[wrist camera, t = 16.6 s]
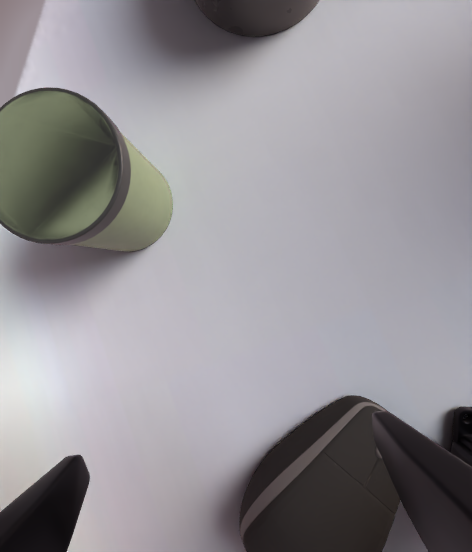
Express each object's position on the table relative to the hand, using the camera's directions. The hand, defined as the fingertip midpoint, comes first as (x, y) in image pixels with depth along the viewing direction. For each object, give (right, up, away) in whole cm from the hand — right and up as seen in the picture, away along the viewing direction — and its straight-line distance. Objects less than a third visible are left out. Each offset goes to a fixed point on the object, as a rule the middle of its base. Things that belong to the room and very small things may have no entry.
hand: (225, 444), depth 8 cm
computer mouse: (+6, -8, +9) cm, 13 cm away
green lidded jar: (-7, +10, +10) cm, 15 cm away
